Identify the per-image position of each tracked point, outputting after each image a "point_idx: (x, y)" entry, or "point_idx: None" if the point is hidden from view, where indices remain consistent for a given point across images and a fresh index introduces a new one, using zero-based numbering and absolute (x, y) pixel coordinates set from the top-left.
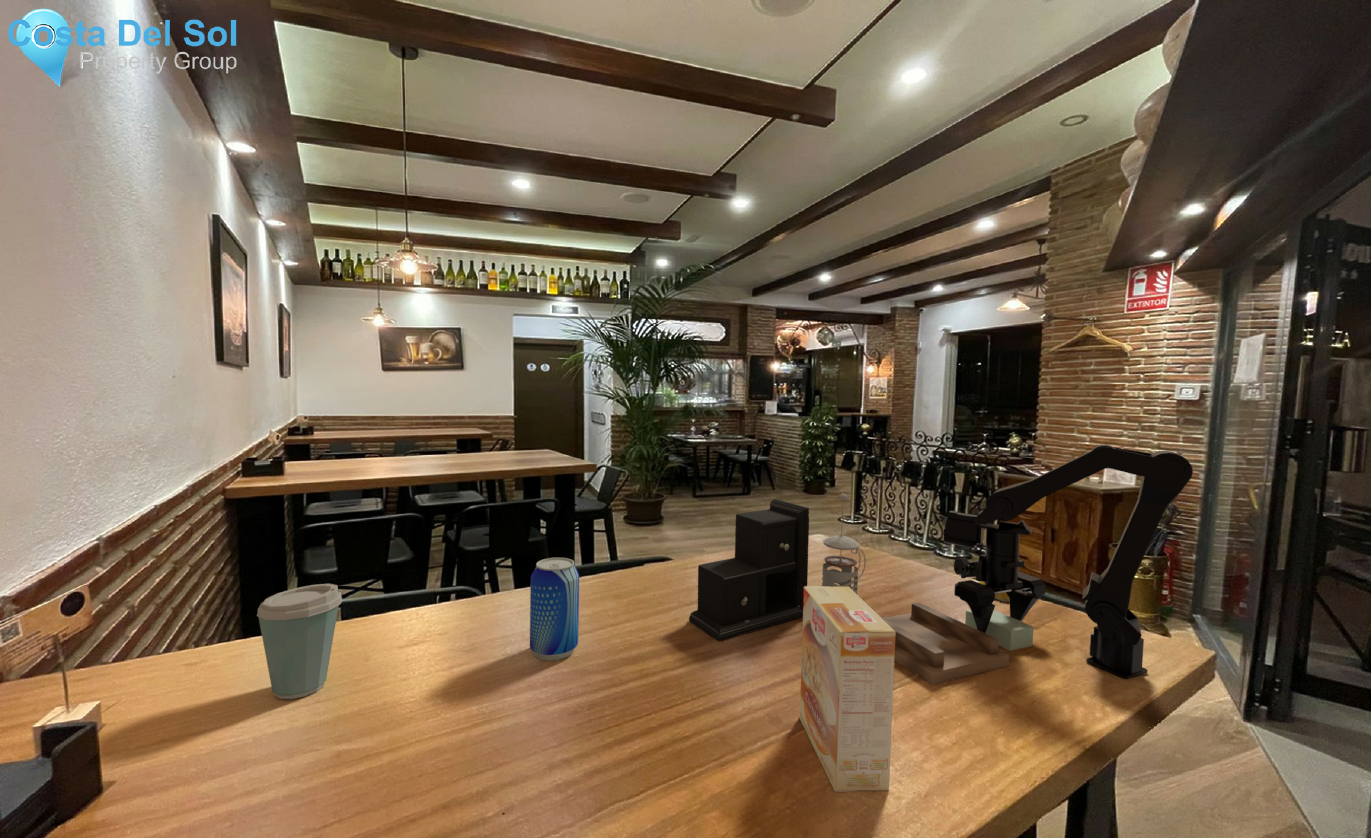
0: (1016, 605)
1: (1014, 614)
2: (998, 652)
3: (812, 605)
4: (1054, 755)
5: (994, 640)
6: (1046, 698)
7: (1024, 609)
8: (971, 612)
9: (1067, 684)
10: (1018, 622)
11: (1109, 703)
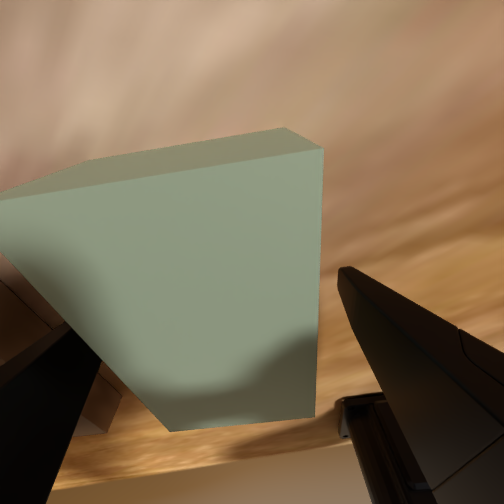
0: (437, 428)
1: (380, 339)
2: (78, 426)
3: None
4: (65, 484)
5: None
6: (130, 447)
7: (413, 444)
8: (19, 261)
9: (207, 432)
10: (288, 392)
11: (228, 453)
